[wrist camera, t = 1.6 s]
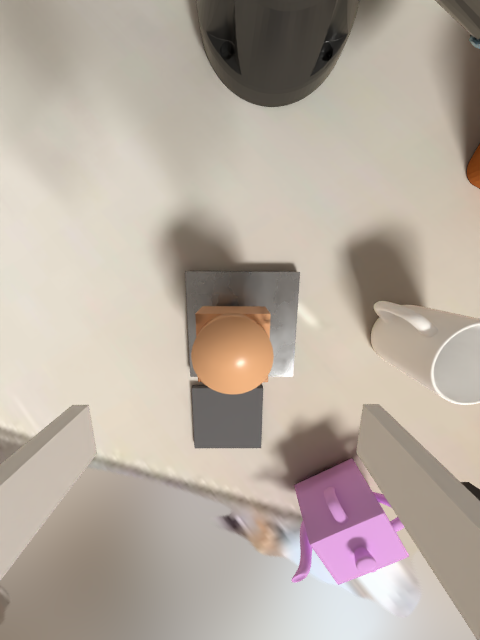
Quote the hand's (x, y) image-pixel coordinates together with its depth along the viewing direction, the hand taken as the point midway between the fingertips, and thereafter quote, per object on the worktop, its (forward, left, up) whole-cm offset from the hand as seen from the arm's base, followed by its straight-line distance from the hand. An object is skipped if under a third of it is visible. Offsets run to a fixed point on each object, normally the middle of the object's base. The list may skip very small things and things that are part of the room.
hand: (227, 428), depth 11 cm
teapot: (+27, +15, -20) cm, 37 cm away
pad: (+14, -1, -20) cm, 24 cm away
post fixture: (0, 0, -20) cm, 20 cm away
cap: (0, 0, -14) cm, 14 cm away
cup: (0, +21, -20) cm, 29 cm away
